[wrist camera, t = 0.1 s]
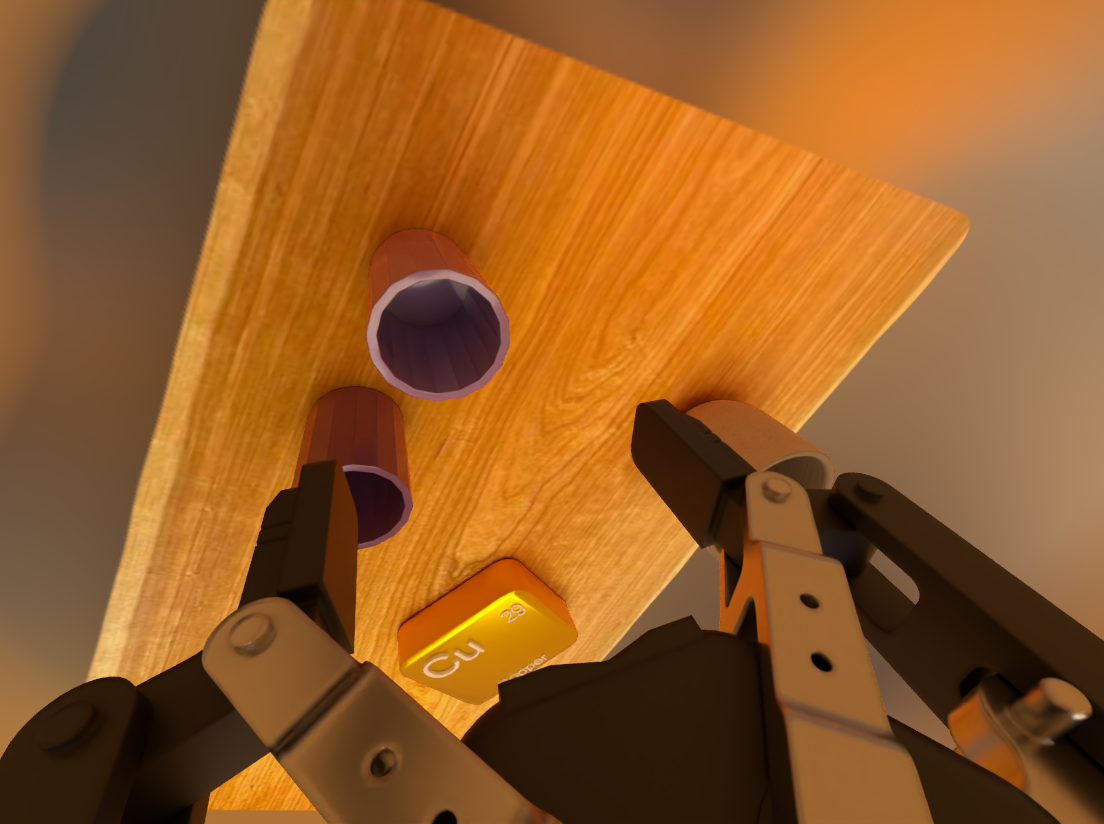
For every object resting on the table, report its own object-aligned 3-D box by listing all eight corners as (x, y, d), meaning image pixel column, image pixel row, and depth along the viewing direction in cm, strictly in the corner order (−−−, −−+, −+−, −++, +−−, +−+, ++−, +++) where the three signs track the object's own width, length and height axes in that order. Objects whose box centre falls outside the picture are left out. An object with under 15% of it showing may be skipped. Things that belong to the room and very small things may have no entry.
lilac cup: (358, 230, 25) (351, 275, 17) (467, 226, 27) (506, 264, 19) (379, 333, 29) (382, 409, 21) (475, 323, 31) (511, 390, 23)
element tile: (470, 672, 54) (478, 714, 50) (388, 631, 44) (390, 677, 41) (571, 606, 53) (586, 642, 49) (509, 550, 44) (521, 590, 40)
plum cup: (295, 393, 29) (269, 479, 22) (395, 380, 31) (402, 455, 24) (321, 467, 32) (306, 562, 25) (409, 451, 34) (419, 535, 27)
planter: (760, 431, 48) (846, 498, 39) (672, 502, 49) (736, 581, 40) (723, 360, 40) (819, 423, 32) (620, 445, 42) (685, 528, 33)
